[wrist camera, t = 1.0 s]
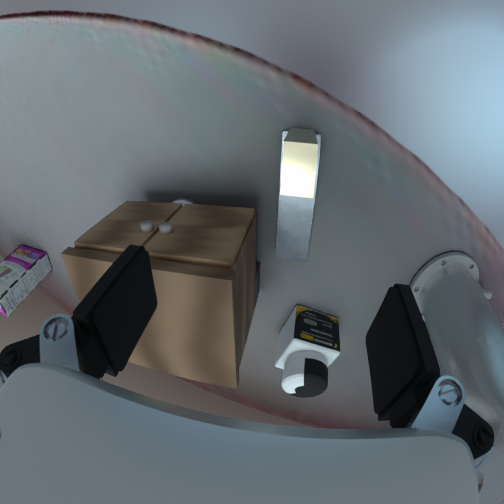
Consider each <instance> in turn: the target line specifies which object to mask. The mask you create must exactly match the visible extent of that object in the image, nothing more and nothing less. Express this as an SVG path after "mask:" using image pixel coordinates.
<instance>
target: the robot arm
mask: <svg viewBox="0 0 504 504" xmlns="http://www.w3.org/2000/svg"><path fill="white" fill-rule="evenodd" d="M491 297H492V291H490V290H483V289H482V287H481V285H480V284H479V270H478V267H477V265H476V263H475V262H474V261H473V259H472V258H471V257H470V256H468V255H467V254H464V253H461V252H449V253H445V254H442V255H440V256H437V257H435V258H434V259H432V260H431V261H429V262H428V263H427V264H426V265H424V266H423V267H422V268H421V269H420V271H419V272H418V273H417V274H416V276H415V277H414V279H413V280H412V283H411V285H410V286H409V285H403V284H395V285H394V286H393V287H390V288H389V289H388V292H387V294H386V296H385V298H384V300H383V302H382V304H381V307H380V309H379V311H378V313H377V315H376V317H375V319H374V321H373V323H372V325H371V327H370V328H369V330H368V332H367V335H366V347H367V354H368V361H369V368H370V376H371V384H372V393H373V403H374V411H375V413H376V414H378V421H383V420H390V428H389V429H319V428H304V427H292V426H282V425H273V424H266V423H259V422H252V421H246V420H240V419H234V418H229V417H224V416H219V415H214V414H210V413H205V412H201V411H197V410H193V409H189V408H185V407H181V406H177V405H174V404H170V403H167V402H163V401H160V400H157V399H153V398H150V397H147V396H144V395H141V394H138V393H135V392H132V391H129V390H126V389H124V388H121V387H118V386H116V385H113V384H110V383H108V382H105V381H103V378H102V377H103V376H104V374H105V373H107V374H109V375H112V376H115V377H116V376H117V374H118V372H119V371H122V370H123V369H124V368H125V366H126V364H127V362H128V360H129V358H130V356H131V354H132V352H133V350H134V349H135V347H136V345H137V343H138V341H139V339H140V337H141V336H142V334H143V332H144V330H145V328H146V326H147V325H148V323H149V321H150V319H151V317H152V316H153V314H154V312H155V310H156V308H157V303H158V302H157V296H156V291H155V286H154V280H153V275H152V269H151V263H150V257H149V252H148V251H146V250H145V247H143V246H138V245H132V244H131V245H129V246H128V247H127V248H126V249H125V250H124V251H123V252H122V254H121V255H120V256H119V257H118V258H117V259H116V260H115V261H114V263H113V264H112V265H111V266H110V267H109V268H108V269H107V271H106V272H105V273H104V274H103V275H102V277H101V278H100V279H99V280H98V281H97V282H96V284H95V285H94V286H93V287H92V289H91V290H90V291H89V292H88V293H87V295H86V296H85V297H84V298H83V300H82V301H81V302H80V303H79V305H78V306H77V307H76V309H75V310H74V311H73V314H74V315H73V316H72V317H71V318H70V317H69V316H67V315H65V314H56V315H53V316H51V317H49V318H48V319H47V320H46V321H45V322H44V323H43V325H42V326H41V329H40V334H39V335H36V336H33V337H30V338H28V339H24V340H22V341H19V342H16V343H13V344H10V345H8V346H6V347H5V348H4V349H3V350H2V352H1V353H0V504H504V330H503V328H502V326H501V324H500V322H499V320H498V318H497V317H496V315H495V313H494V311H493V309H492V308H491V304H490V302H489V301H487V299H491ZM424 321H425V322H426V324H427V327H428V330H429V333H430V336H431V339H432V342H433V345H434V348H435V351H436V355H437V358H438V361H439V365H440V368H441V372H442V377H441V375H440V368H439V365H438V362H437V358H436V355H435V352H434V349H433V346H432V343H431V340H430V337H429V334H428V331H427V328H426V326H425V323H424Z"/></svg>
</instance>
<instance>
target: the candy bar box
mask: <svg viewBox="0 0 504 504" xmlns="http://www.w3.org/2000/svg"><path fill="white" fill-rule="evenodd" d="M51 271H52V266H51V263H50V260H49V257H48V254H47V252H45V251H41V250H38V249H35V248H31V247H28V246H25V245H20V246H19V247H18V248H17V249H15V250H14V251H13V252H12V253H11V254H10V255H9V256H7V257H6V258H5V259H4V260H3V261H2V262H1V263H0V312H1V313H2V314H4V315H5V316H7V317H9V316H10V315H11V314H12V312H13V311H14V310H15V309H16V308H17V307H18V306H19V304H20V303H21V302H22V301H23V300H24V298H26V297H27V295H28V294H29V293H30V292H31V291H32V290H33V289H34V288H35V287H36V286H37V285H38V284H39V283H40V282H41V281H42V280H43V279H44V278H45V277H46V276H47V275H48V274H49V273H50V272H51Z"/></svg>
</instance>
